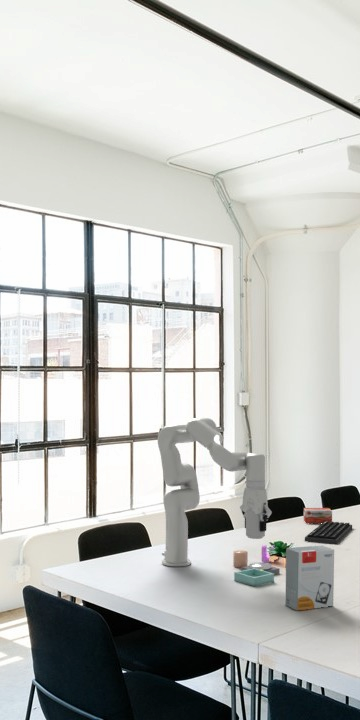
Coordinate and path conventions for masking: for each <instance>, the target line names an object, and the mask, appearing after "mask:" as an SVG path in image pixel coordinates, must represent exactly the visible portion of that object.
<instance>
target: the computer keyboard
mask: <svg viewBox="0 0 360 720" xmlns="http://www.w3.org/2000/svg"><path fill="white" fill-rule="evenodd" d="M352 529H353V524H350V522H343V521H342V522H339V521H335V522H334V521H332V522H328V521H324V522H323V523H322V524H318V526H317V527H316V528H314V529H313V530H312V531H311V532H310V533H308V534H307V535H306V536H304V542H305V541H308V542H307V543H310V542H311V543H318V544H328V545H329V544H330V545H338V544H339V543H340V542H341V540H343V539H344V538H345V537H346V535H347V534H349V533H350V531H352Z"/></svg>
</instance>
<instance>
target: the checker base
mask: <svg viewBox="0 0 360 720" xmlns="http://www.w3.org/2000/svg"><path fill="white" fill-rule="evenodd" d="M248 569H250V565H248V566H245V567H242V568H241V571H243V570H248ZM260 570H262V569H260ZM263 571H266V572H270V573H273V574H274V576H275V575H278V574H280V567H276V566H272V568H271V569H270V570H263Z"/></svg>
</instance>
